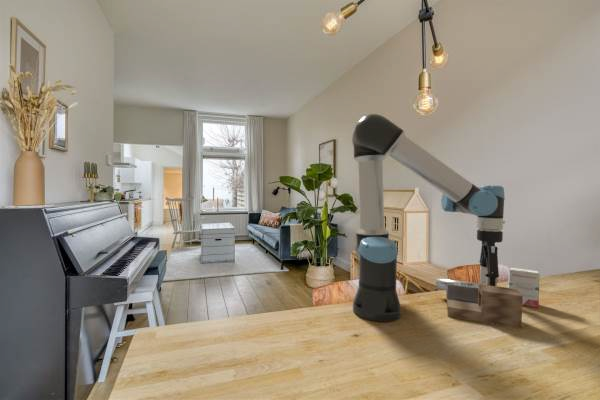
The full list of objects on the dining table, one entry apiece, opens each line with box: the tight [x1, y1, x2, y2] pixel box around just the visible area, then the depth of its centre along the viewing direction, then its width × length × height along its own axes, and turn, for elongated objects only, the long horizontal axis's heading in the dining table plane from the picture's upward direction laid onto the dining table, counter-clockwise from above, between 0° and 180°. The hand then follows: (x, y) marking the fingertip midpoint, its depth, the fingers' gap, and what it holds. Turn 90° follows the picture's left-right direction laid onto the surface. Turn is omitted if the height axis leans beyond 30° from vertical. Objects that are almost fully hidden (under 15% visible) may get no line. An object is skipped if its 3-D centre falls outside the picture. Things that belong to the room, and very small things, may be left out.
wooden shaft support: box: [446, 284, 523, 329], centre depth 92 cm, size 19×7×10 cm, turn 66°
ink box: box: [507, 267, 541, 308], centre depth 104 cm, size 9×5×12 cm, turn 58°
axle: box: [435, 277, 487, 291], centre depth 106 cm, size 18×4×4 cm, turn 66°
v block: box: [445, 284, 479, 304], centre depth 106 cm, size 10×7×6 cm
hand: (487, 290), depth 103 cm, fingers open, 13 cm apart
